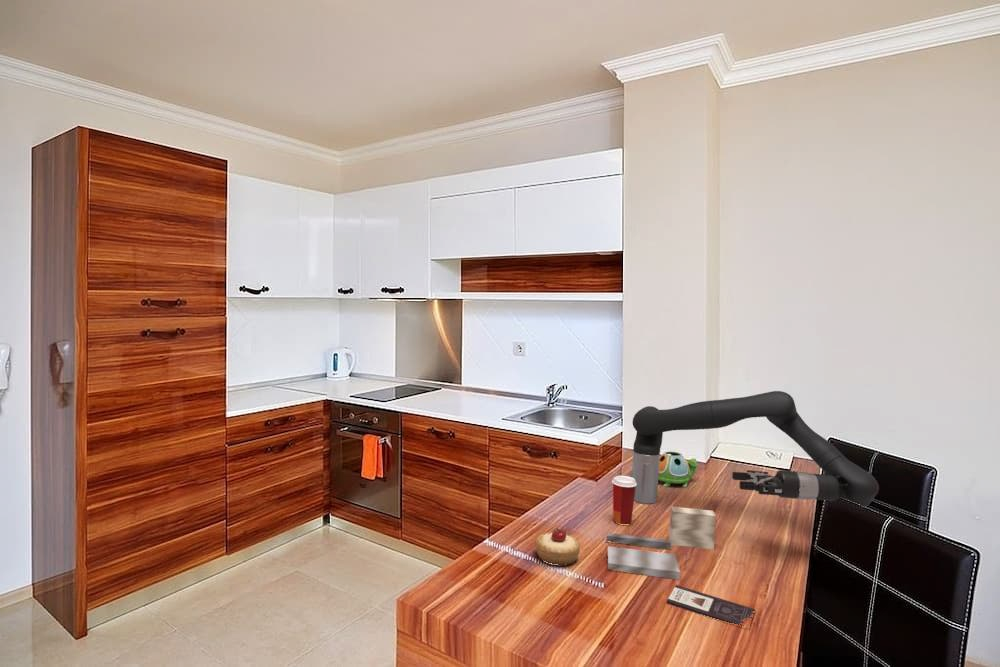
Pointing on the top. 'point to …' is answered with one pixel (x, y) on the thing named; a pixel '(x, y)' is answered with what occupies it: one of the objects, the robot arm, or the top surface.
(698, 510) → the beige rectangular block
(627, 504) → the paper cup
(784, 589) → the top surface
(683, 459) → the turtle holder
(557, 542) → the pastry
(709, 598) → the chocolate bar
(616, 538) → the mating board
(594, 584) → the top surface
